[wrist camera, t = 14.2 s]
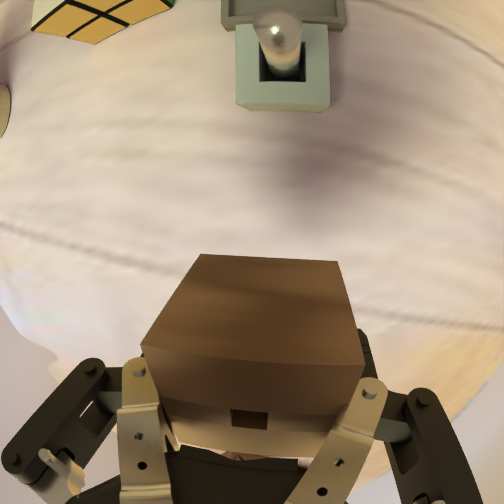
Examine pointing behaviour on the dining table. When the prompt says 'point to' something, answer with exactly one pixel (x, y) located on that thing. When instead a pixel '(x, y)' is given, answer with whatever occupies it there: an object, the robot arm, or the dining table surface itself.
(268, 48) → the cylinder
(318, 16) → the tray
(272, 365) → the brown cardboard cube
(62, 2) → the puzzle cube
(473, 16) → the dining table surface
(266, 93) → the slate block
